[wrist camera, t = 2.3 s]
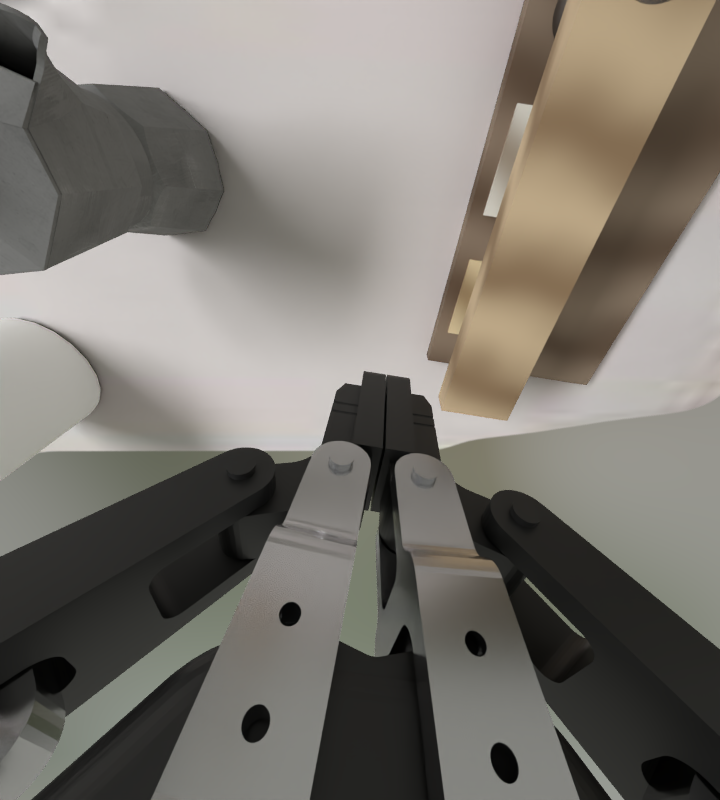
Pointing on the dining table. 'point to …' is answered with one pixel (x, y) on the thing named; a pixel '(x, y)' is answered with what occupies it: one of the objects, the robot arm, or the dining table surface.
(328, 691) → the robot arm
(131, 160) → the coffeepot
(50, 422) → the white jar
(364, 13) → the dining table surface
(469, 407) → the swing arm
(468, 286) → the label board
